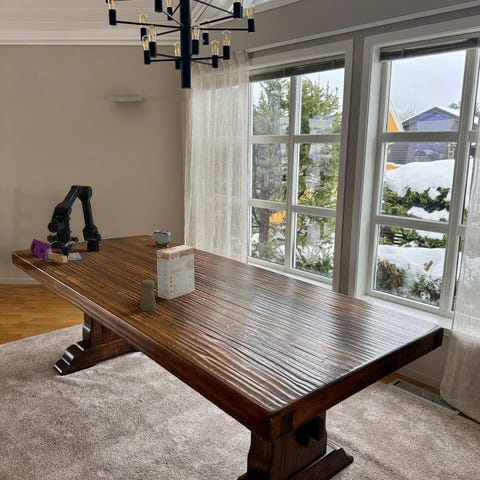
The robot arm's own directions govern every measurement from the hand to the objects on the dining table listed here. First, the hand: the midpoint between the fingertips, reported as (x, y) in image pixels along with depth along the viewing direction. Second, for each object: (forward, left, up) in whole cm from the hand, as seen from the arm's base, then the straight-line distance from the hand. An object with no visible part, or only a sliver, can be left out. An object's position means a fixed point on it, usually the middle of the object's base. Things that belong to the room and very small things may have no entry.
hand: (66, 258), depth 232 cm
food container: (-59, -21, -3) cm, 63 cm away
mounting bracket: (+7, -25, -3) cm, 27 cm away
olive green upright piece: (-22, +86, -3) cm, 88 cm away
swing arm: (+5, -3, -2) cm, 6 cm away
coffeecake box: (-37, +74, -3) cm, 82 cm away
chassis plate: (+1, -12, -3) cm, 13 cm away
